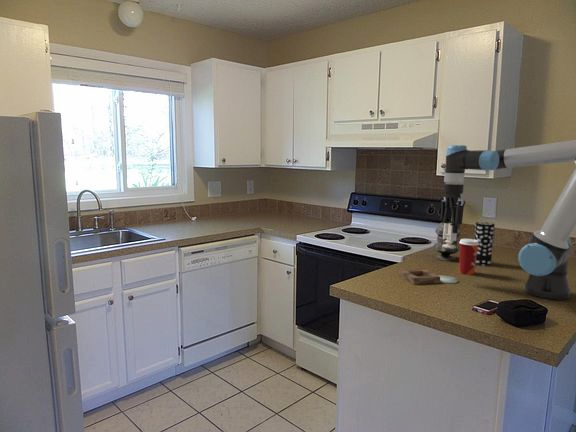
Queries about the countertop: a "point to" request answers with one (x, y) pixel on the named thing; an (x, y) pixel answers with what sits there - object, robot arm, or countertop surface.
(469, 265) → the coffee cup
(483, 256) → the spotted tube
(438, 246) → the apothecary jar
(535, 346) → the countertop surface
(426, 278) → the holder
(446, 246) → the candle
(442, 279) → the coaster
